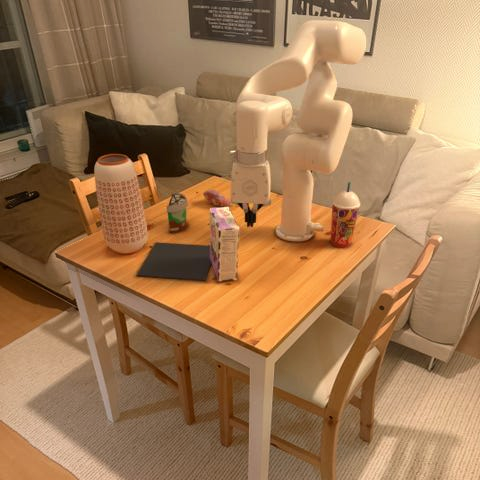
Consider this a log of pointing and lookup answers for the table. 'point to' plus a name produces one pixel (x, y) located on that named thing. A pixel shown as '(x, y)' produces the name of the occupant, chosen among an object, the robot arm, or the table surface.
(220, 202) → the sweet potato
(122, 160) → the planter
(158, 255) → the placemat
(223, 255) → the candy box
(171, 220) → the food container
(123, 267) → the table surface
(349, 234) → the smoothie
